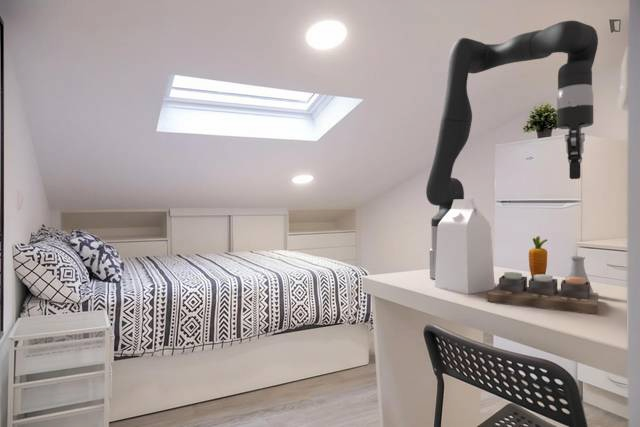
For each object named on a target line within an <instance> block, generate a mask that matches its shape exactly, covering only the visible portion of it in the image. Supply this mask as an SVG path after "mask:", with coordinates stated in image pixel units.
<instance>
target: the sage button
mask: <svg viewBox="0 0 640 427" xmlns="http://www.w3.org/2000/svg"><path fill="white" fill-rule="evenodd" d="M503 275H504V279H515V280H522V277H523V273H521V272H516V271H511V272H510V271H507V272H504V274H503Z"/></svg>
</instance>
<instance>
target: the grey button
mask: <svg viewBox="0 0 640 427" xmlns="http://www.w3.org/2000/svg"><path fill="white" fill-rule="evenodd" d="M553 279H554V278H553V275H550V274H545V275H544V274H536V275H534V281H540V282H552V283H553Z"/></svg>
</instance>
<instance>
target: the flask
mask: <svg viewBox="0 0 640 427" xmlns="http://www.w3.org/2000/svg"><path fill="white" fill-rule="evenodd" d="M570 259H571V261H572V265H571V270H570V273H569V275H568V277H582V278H585V279H586V281H587V282H590V281H589V278H588V276H587V273H586V269H585V262H584V261H585V259H586V257H585V256H583V255H582V256H581V255H572V256H570ZM590 292H593V293H595V292H594V289H593V287H592V285H591V284H590Z"/></svg>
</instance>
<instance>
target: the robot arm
mask: <svg viewBox="0 0 640 427" xmlns="http://www.w3.org/2000/svg"><path fill="white" fill-rule="evenodd" d="M598 45H599V36H598V32H597V30H596V29H595V28H594V26H592V25H589V24H587V23H584V22H580V21H577V20H564V21H560V22H558V23H554V24H553V25H551V26H548V27H546V28H544V29H540V30H534V31H529V32H524V33H521V34H518V35H516V36H514V37H512V38H511V39H509V40H507V41H505V42H503V43H498V44H496V43H493V44H492V43H491V44H487V43H483V42H481V41H477V40H474V39H471V38H468V37H461V38H459V39H457V40H456V42H454V44H453V45H452V47H451V49H450V53H449V58H448V64H447V65H448V68H447V80H446V90H445V95H444V96H445V97H444V104H443V109H442V114H441V119H440V124H439V131H438V137H437V143H436V149H435V154H434V158H433V162H432V166H431V170H430V172H429V177H428V180H427V184H426V188H425V189H426V191H425V194H426V199H427V200H428V202H429V204H431V205H433V206H439V208H438V212H437V213H436V214H435V215H434V216H432V217H431V220H430V222H431V223H430V224H431V248H430V249H429V279H433V280H435V272H436V249H437V228H438V224H439V222H440V221H441V220H442V218H443V217H444V216H445V215H446V214H447V213H448V211H449V210H450V209H451V207H452V204H453V201H454V199H465V190H464V185H463V184H462V182H461V181H460V180H459V179H458V178H456V177H452V173H453V168H454V166H455V163H456V160H457V159H458V157H459V155H460V153H461V152H462V151H463V148H464V147H465V145H466V144H467V142H468V139H469V137H470V132H471V129H472V123H473V111H472V107H471V103H470V102H471V101H470V99H469V94H468V90H467V89H468V86H467V85H468V77H469V74H479V73H482V72H485V71H489V70H491V69H493V68H497V67H500V66H504V65H509V64H513V63H521V62H528V61H533V60H542V59H545V58H548V57H550V56H551V55H553V54H554V53H556V54H557V53H562V54H567V60H566V63H564V64H563V65H561V66H560V67H559V69H558V71H557V72H558V73H557V96H556V127H557V129H560V130H568V134H564V142H565V145H566V146H565V148H566V149H565V151H566V154H567V160H568V161H567V162H568V164H569V179H571V180H579V179H580V178H581V176H582V175H581V172H582V171H581V163H582V162H583V156H582V154H584V143H585V140H586V134H585V133H584V132H583V133H582V129H583V128H587V127H591V126H592V125H593V124H594V92H593V91H594V90H593V71H592V70H593V65H594V63H595V62H594V61H595V57H596V53H597V49H598Z"/></svg>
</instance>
